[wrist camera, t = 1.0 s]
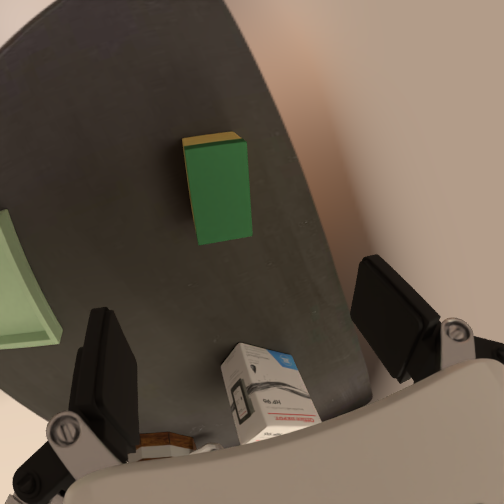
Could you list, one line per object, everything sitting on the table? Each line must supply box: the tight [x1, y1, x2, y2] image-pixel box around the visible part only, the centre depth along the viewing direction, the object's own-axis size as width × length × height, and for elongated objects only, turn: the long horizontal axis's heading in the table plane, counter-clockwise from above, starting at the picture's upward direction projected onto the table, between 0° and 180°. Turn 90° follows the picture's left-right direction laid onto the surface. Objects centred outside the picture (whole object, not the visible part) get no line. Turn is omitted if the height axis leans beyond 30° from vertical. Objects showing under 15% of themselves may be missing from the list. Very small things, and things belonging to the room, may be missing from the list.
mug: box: [128, 432, 224, 463], centre depth 39 cm, size 20×14×15 cm
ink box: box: [221, 343, 321, 445], centre depth 31 cm, size 8×5×15 cm, turn 57°
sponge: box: [182, 132, 252, 245], centre depth 22 cm, size 7×4×4 cm, turn 3°
